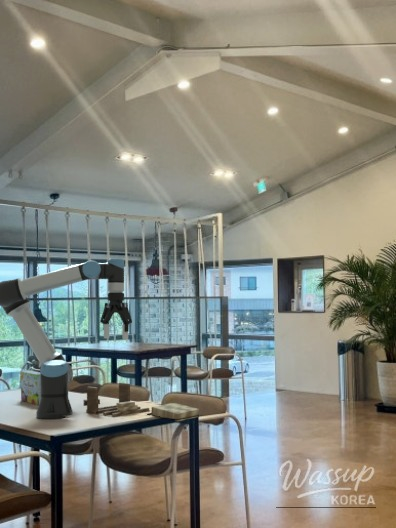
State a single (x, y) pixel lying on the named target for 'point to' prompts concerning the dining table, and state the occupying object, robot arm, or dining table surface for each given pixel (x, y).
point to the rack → (110, 410)
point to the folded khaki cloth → (175, 411)
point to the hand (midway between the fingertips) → (115, 338)
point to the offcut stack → (126, 406)
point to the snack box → (31, 386)
